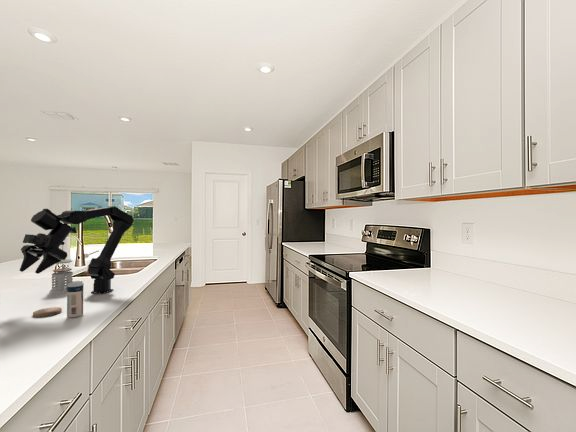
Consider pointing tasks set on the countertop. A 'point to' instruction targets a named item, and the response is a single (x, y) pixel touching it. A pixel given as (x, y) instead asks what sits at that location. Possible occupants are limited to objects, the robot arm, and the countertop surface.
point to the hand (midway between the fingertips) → (28, 272)
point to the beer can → (75, 299)
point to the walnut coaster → (47, 312)
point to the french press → (61, 277)
